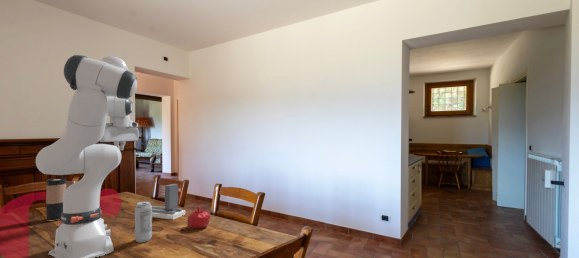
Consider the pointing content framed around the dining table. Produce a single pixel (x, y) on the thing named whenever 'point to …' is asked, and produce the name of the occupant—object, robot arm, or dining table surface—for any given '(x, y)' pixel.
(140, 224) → the energy drink can
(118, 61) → the robot arm
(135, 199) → the dining table surface
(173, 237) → the dining table surface
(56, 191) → the travel mug
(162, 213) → the fader board
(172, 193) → the fader tab
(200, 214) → the pomegranate
